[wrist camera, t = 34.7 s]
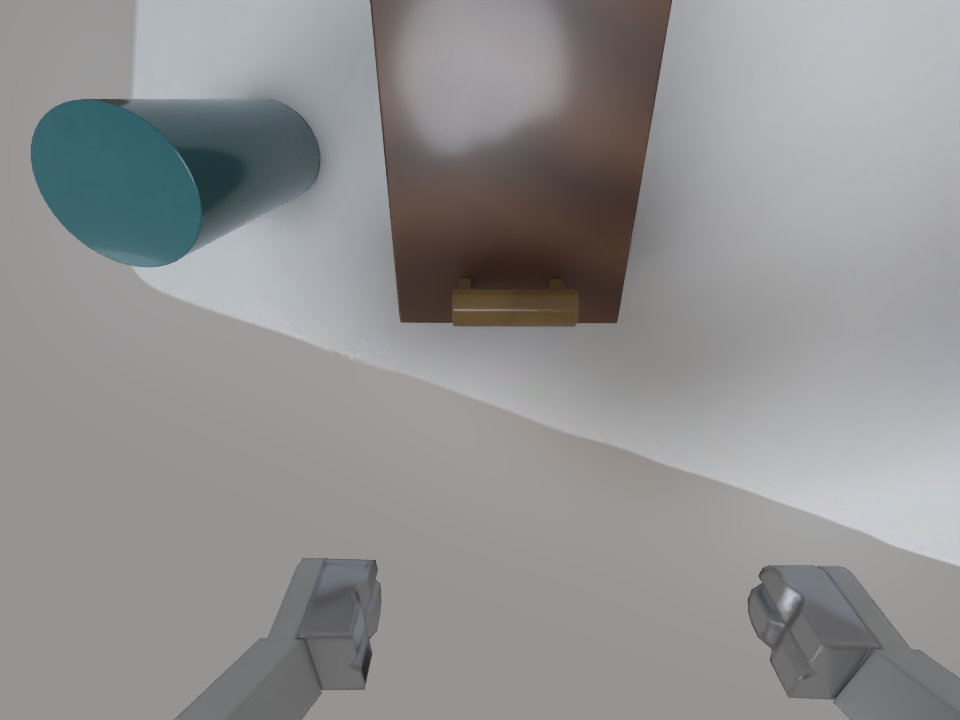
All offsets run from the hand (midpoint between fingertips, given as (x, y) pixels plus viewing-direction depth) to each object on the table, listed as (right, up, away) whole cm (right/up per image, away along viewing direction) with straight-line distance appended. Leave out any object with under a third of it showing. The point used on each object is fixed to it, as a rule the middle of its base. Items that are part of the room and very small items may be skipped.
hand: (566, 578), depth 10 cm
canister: (-14, +17, +16) cm, 27 cm away
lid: (0, +14, +13) cm, 19 cm away
